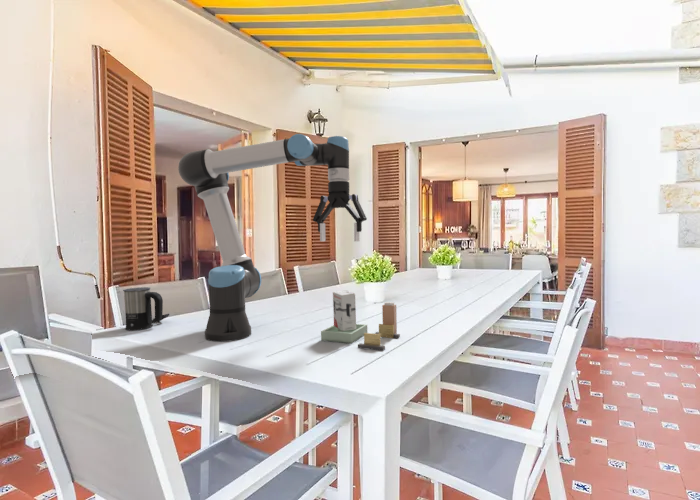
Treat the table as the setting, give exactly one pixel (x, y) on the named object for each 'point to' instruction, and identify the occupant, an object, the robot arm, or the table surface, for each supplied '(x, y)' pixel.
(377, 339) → the clip rails
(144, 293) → the milk frother
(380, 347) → the holder base
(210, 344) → the table surface
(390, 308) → the fuse
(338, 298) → the ink box
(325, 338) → the tray
